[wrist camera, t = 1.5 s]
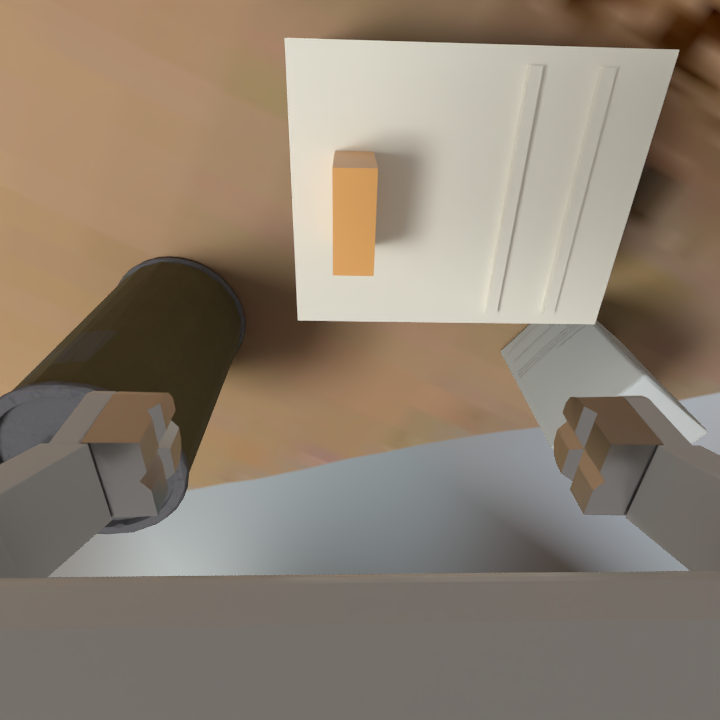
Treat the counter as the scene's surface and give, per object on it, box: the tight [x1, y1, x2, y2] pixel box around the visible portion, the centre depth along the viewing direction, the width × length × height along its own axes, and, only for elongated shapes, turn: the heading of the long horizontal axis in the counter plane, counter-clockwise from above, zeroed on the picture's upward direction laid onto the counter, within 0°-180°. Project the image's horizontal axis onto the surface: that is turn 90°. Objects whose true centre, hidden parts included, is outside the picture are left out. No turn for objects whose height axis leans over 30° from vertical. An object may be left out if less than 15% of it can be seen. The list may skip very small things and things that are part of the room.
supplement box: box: [501, 320, 708, 449], centre depth 37 cm, size 7×7×13 cm
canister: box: [0, 257, 245, 534], centre depth 32 cm, size 11×10×20 cm
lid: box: [285, 38, 679, 324], centre depth 26 cm, size 19×15×7 cm
